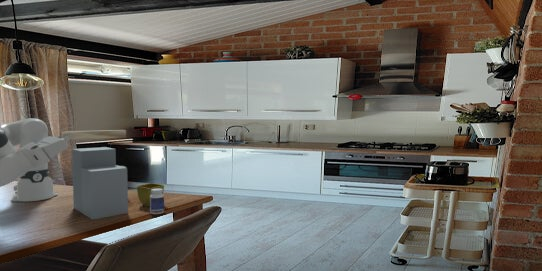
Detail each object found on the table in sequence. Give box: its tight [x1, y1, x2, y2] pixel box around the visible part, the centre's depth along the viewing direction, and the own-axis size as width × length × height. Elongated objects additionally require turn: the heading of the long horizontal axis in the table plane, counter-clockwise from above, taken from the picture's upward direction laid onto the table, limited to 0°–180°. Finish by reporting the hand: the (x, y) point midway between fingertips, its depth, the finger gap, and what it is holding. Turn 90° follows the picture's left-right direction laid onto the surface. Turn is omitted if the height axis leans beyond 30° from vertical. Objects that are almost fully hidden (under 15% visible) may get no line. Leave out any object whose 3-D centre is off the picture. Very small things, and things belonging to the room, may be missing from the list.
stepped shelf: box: [71, 146, 129, 220], centre depth 155 cm, size 24×14×26 cm, turn 44°
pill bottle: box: [149, 188, 165, 215], centre depth 152 cm, size 6×6×10 cm
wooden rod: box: [59, 129, 127, 141], centre depth 147 cm, size 4×24×3 cm, turn 134°
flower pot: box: [136, 182, 165, 207], centre depth 165 cm, size 9×9×9 cm
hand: (70, 134), depth 141 cm, fingers closed on wooden rod, 4 cm apart
